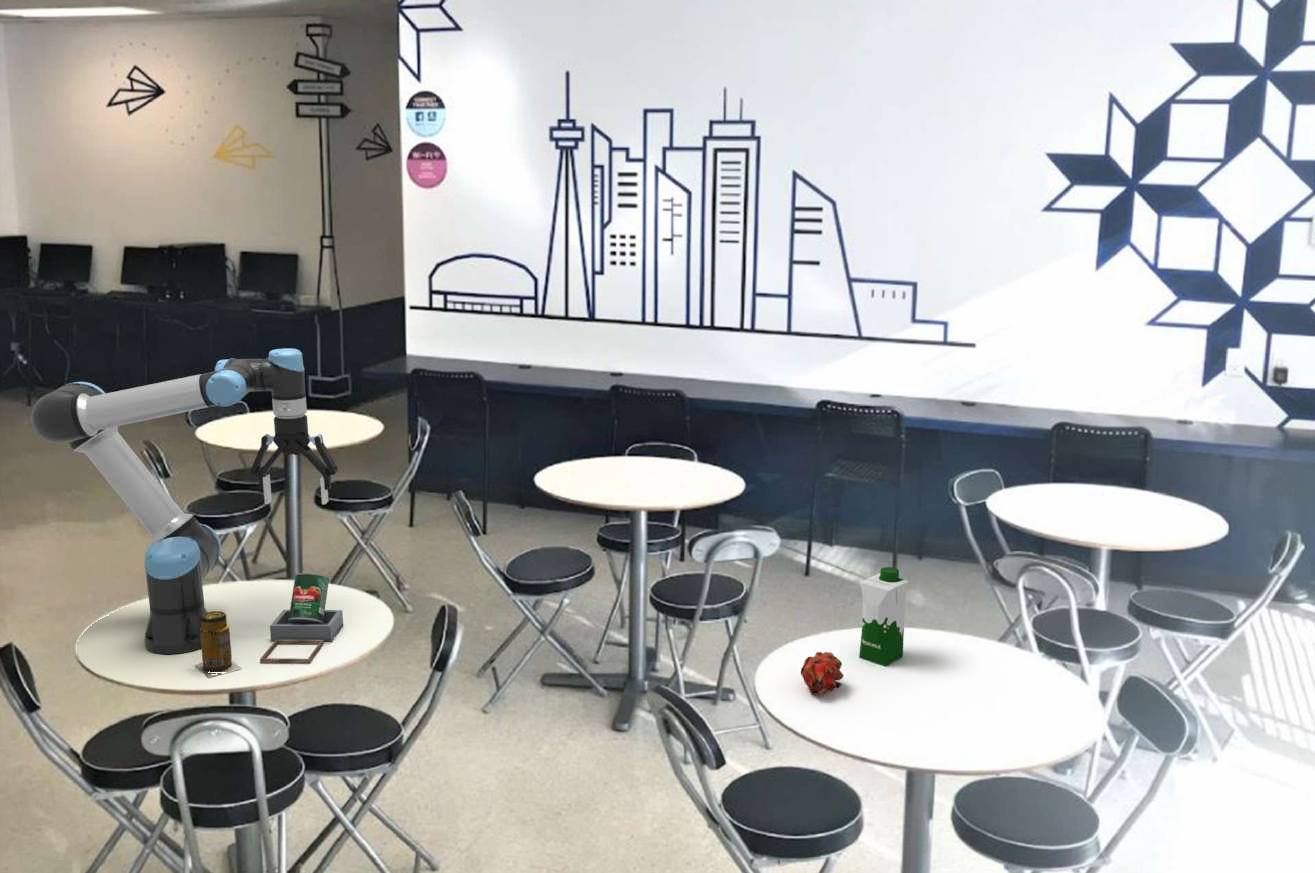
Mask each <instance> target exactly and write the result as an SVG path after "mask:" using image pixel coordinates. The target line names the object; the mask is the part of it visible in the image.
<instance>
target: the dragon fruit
mask: <svg viewBox="0 0 1315 873" xmlns="http://www.w3.org/2000/svg"><path fill="white" fill-rule="evenodd" d="M842 665H843V662H842V661H841V660H840V659H838V657H837V656H835V655H834V654H833V653H832V652H829V651H825V652H821V651H816V653H814V656H808V657H806V659H805V660H804V663H803V665H802V667H801V668H800V669H801V670H800V676H802V679H803V682H804V683H805V685H806V686H807V688H808V689H809V692H810V693H811V694H812V695H813V696H815V695H816V694H826V693H827V691H828V692H833V691H834V690H836V689H840V688H841V686H842V684H843V682H840V681H841V680H843V678H844V674H843V672H842V671H841V668H842Z"/></svg>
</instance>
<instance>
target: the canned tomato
mask: <svg viewBox="0 0 1315 873" xmlns="http://www.w3.org/2000/svg"><path fill="white" fill-rule="evenodd" d="M293 582H294V583H293V588H292V595H291V602H290V608H289V610H290V613H289V619H288V622H289V623H291V624H310V625H323V618H324V611H325V610H326V604H327V597H328V590H329V584H330V583H329V582H330V577H329V576H327V575H324V574H320V573H314V572H299V573H296V574H295V575H294V581H293Z"/></svg>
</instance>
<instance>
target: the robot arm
mask: <svg viewBox="0 0 1315 873" xmlns="http://www.w3.org/2000/svg"><path fill="white" fill-rule="evenodd" d="M250 392H271V398H272V400H271V402H272V411H273V412H272V413H273V415H274V417H273V426H274V427H273V428H274V435H270V434H268V433H266V434H264V435H263V436H262V437H261V439H260V440H261V442H260V447H259V450H258V452H257V454H256V457H255V459H254V461H253V463H252V466H251V468H250V469H249V470H250V471H249V473H250V475H255V476H257V477H258V483H259V489H260V490H261V491H262V490H263V495H264V496H263V498H264V505H269V504H270V503H271V502H272V500H273V499H272V487H271V475H270V474H267V473H268V471H269V470H270V469H271V467H272V466H274V464H275V462H276V461H277V460H278V459H279V458H280V456H281V455H282V454H284V455H285V456H289V455H290V456H291V455H294V456H299V455H302V457H304V458H306V459H307V461H308V462H310V463H311V464H312V465H313V467H314V468H315V469H317V471H318V472H319V473H320V474H321V475H322V476H320V478H319V480H320V495H321V496H320V497H321V505H326V504H327V503H328V502H329V490H331V489H332V478H331V477H332V476H334V475H336V474H337V473H338V472H339V467H338V466H337V464H336V462H335V461H334V459H333V457H332V455H331V453H330V452H329V450H328V448H327V447H326V445H325V444H324V438H323V435H322V434H317V435H314V436H313V435H312V436H310V435H309V426H308V425H309V424H308V416H307V415H306V414H307V412H308V410H307V398H306V383H305V367H304V360H303V353H302V352H301V350H299V349H297V348H288V347H287V348H286V347H285V348H277V349H272V350H270V351H269V352H268V357H267V358H233V357H231V358H229V359H220V360H218V361H217V362H216V365H215V366H214V371H210V372H209V371H208V372H206V373H205V372H204V373H201V374H195V375H189V376H186V377H185V376H184V377H181V378H177V379H176V378H175V379H170V380H165V381H161V382H157V383H152V384H147V385H146V384H145V385H142V386H136V387H131V388H127V389H121V390H118V391H117V390H116V391H113V392H107V393H106V392H105V391H104V390H103V389H102V388H101V387H99V386H97V385H95V384H93V383H91V382H86V381H76V382H70V383H66V384H65V385H63V386H60V387H59V388H57V389H55V390H53V391H51V392H50V393H47V394H45V395H43V396H42V397H40V398H39V399H38V400H37V401H36V403H35V404H34V406H33V407H32V410H31V414H30V419H31V421H30V422H31V424H32V425H31V426H32V427H33V429H34V431H35V433H36V434H37V435H38V436H39V437H40V438H42V439H43V440H45V441H46V442H48V443H52V444H53V443H54V444H59V445H62V444H64V445H65V444H68V446H69V447H70V448H71V449H72V450H73V451H74V452H76V453H83V454H85V455H86V457H87V458H88V459H89V460H90V462H91V463H93V466H95V468H96V469H97V471H99V473H100V474H101V475H102V476H103V478H104V479H105V480H106V481H107V482H108V484H109V485H110V486H111V488H112V489H113V490H114V491H115V492H116V493H117V495H118V496H119V497H120V499H121V500H122V501H123V502H124V504H125V505H126V506H127V507H128V509H129V510H130V511H131V512H132V513H133V515H134V516H135V517H136V518H137V519H138V520H139V522H140V523H141V524H142V526H143V527H144V528H145V529H146V531H147V532H148V534H150V541H149V546H148V547H147V548H146V551H145V554H144V569H145V574H146V584H147V596H148V603H149V618H148V621H147V626H146V629H145V634H144V646H145V649H146V650H148V651H149V652H152V653H154V654H160V655H163V654H164V655H175V654H183V653H189V652H194V651H196V650H199V649H201V637H200V628H201V627H202V626H201V616H202V615H203V614H205V613H208V611H207V609H206V607H205V599H204V597H205V596H204V588H203V586H204V585H203V581H204V579H205V578H206V577H207V576H208V574H209V573H210V572H211V571H212V570H213V569H214V568H215V566H216V565H217V563H218V561H219V559H220V556H221V553H222V544H221V540H220V537H219V535H218V534H217V532H216V531H215V530H214V529H213V528H212V527H210V526H209V525H207V524H203V523H200V522H199V521H198V519H197V518H196V517H195V516H194V514H192V513H186V512H185V513H184V512H183V511H182V510H181V509H180V508H179V506H178V505H177V504H176V502H174V500H173V499H172V497H170V495H169V494H168V493H167V491H165V489H164V488H163V487H162V485H161V484H160V482H158V481H157V479H156V478H155V476H154V475H153V474H152V473H151V472H150V470H149V469H148V468H147V466H146V464H144V463H143V461H141V459H140V458H139V457H138V456H137V454H136V453H135V451H133V449H132V448H131V447H130V445H129V444H128V443H127V441H126V440H125V439H124V437H122V435H121V434H120V433H119V427H120V426H125V425H129V424H135V423H140V422H144V421H148V420H154V419H157V418H163V417H167V416H172V415H178V414H182V413H186V412H187V413H188V412H190V411H196V410H197V411H198V410H202V409H206V408H212V407H230V406H232V405H235V404H238V403H239V402H240V401H241V400H242V399H243V398H244V397H245V396H246V395H248V393H250ZM273 443H274V445H276V446H277V448H276V449H275V451H274V452H273V454H272V455H271V456H270V458H269V459H268V460H267V461H266V463H265V464H264V465H263V466H262V468H260V467H261V465H262V463H263V461H264V458H265V457H266V454H267V452H268V450H269V447H270V445H272V444H273ZM310 443H312V445H314V446H315V448H316V450H317V452H318V454H319V455H320V457H321V459H322V460H323V461H322V460H321V459H320V457H318V456H317V454H315V452H314V451H313V449H312V448H311V447H310V446H309V444H310Z"/></svg>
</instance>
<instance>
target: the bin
mask: <svg viewBox="0 0 1315 873" xmlns="http://www.w3.org/2000/svg"><path fill="white" fill-rule="evenodd" d="M289 613H290V609H283V610H282V611H281V612H280V613H279V615H278V616H277V617H276V618H275V619H274V620H273V622H272V623H271V624H270V625H269V632H270V634H269V635H270V642H271V643H274V642H275V640H324V642H332V643H333V641H334V640H335V638H336V637H337V636H336V635H338V634H339V633H340V632H341V629H343V627H344V618H343V617H344V616H343V609H325V611H324V618H323V625H310V624H291V623H289V622H288V619H289ZM334 637H335V638H334Z"/></svg>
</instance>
